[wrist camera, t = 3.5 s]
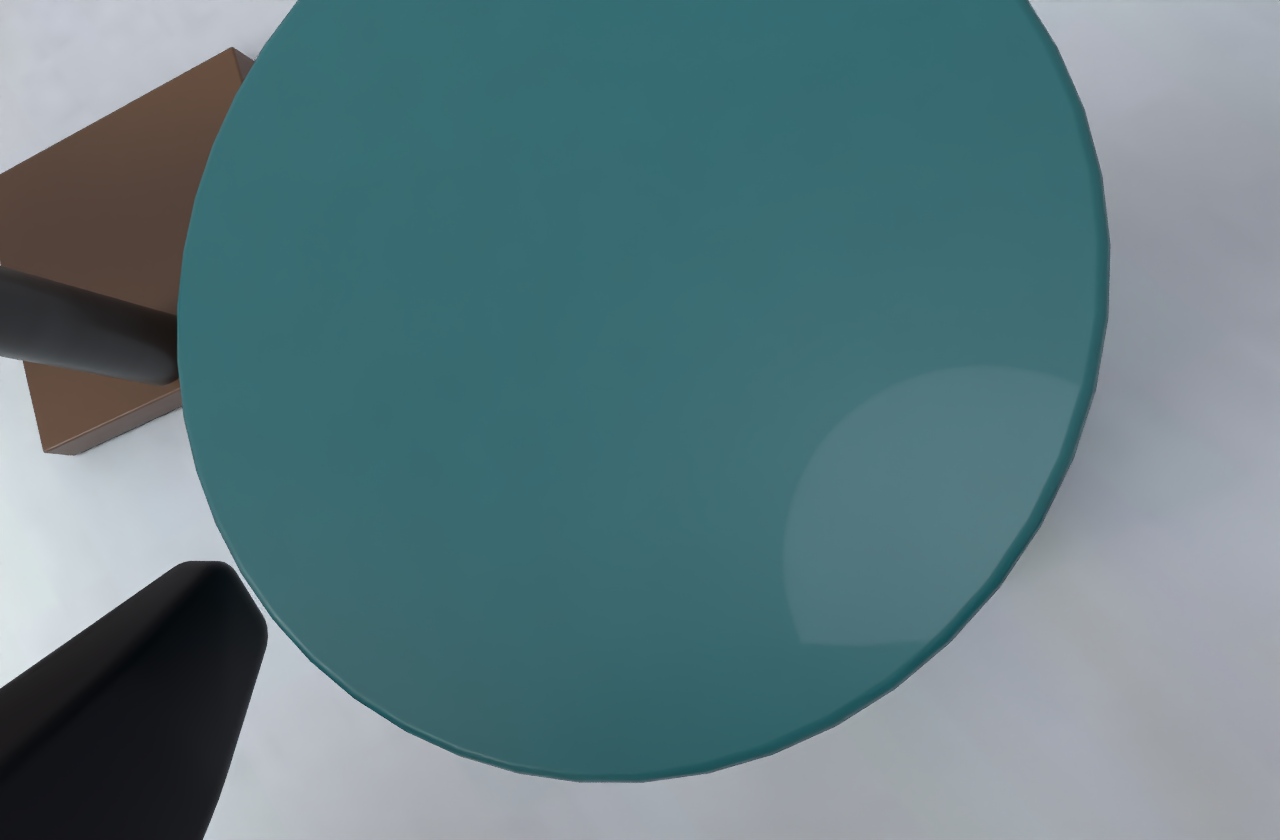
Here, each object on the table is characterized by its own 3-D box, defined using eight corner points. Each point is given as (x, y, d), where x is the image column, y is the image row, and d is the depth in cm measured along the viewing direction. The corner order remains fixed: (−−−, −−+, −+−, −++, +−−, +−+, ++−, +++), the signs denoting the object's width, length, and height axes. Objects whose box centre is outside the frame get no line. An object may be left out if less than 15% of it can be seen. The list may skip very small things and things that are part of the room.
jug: (1024, 623, 17) (1135, 828, 5) (692, 615, 18) (147, 753, 6) (1004, 15, 18) (1055, -1058, 6) (692, 56, 19) (225, -730, 7)
